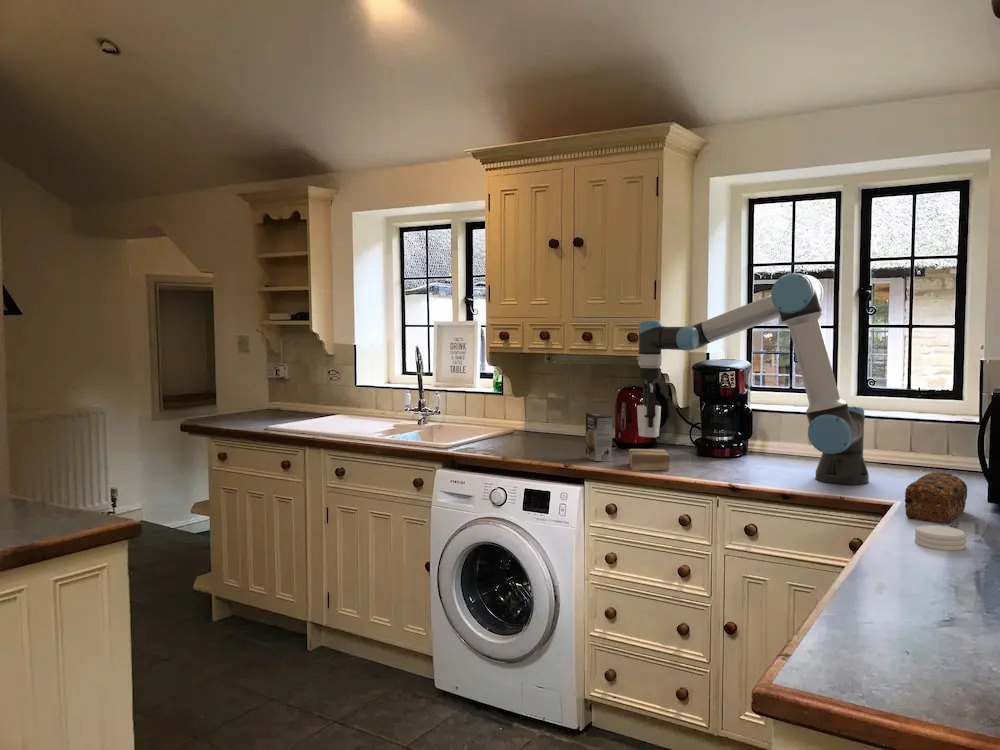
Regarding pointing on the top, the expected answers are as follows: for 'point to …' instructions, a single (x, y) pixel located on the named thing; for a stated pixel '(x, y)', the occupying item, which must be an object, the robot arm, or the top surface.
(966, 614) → the top surface
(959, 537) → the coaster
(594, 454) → the coffee box
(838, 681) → the top surface
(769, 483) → the top surface
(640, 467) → the oak block
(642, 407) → the white cup
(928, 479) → the bread
